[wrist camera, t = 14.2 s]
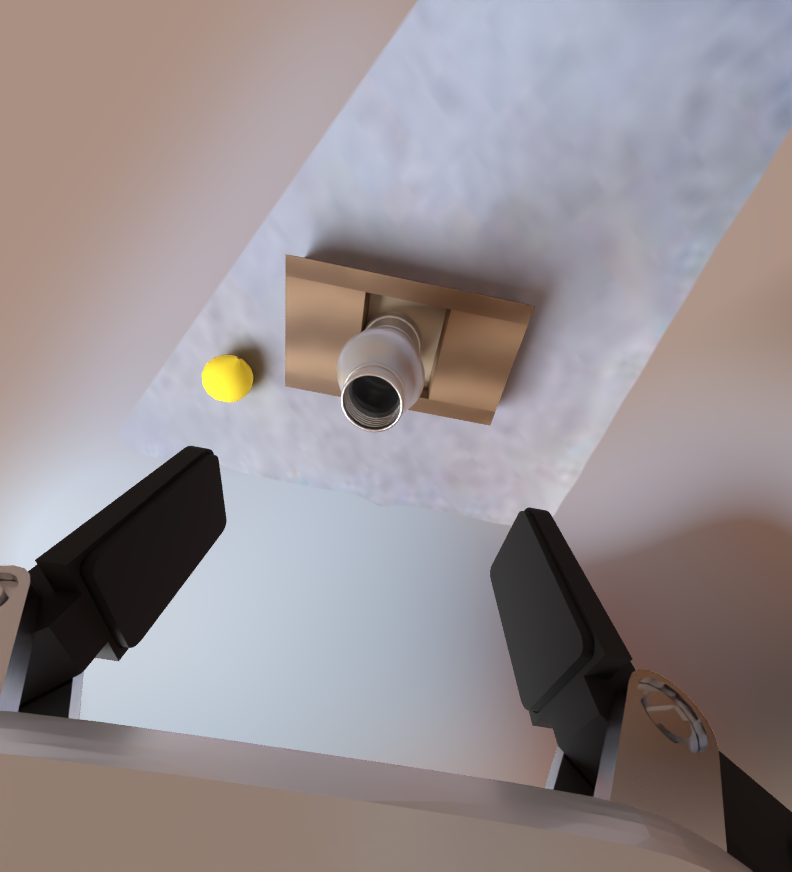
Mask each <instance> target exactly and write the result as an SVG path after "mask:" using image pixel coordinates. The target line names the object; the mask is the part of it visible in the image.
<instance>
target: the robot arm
mask: <svg viewBox="0 0 792 872" xmlns="http://www.w3.org/2000/svg"><path fill="white" fill-rule="evenodd" d="M225 526H226V513H225V505H224V498H223V490H222V482H221V475H220V468H219V460H218V457H217V456H216V455H214V454H213V452H212V450H210V449H206V448H200V447H195V446H188V447H186V448H184V449H183V450H181V451H180V452H179V453H177V454H176V455H175V456H173V457H172V458H171V459H169V460H168V461H167V462H166V463H164V464H163V465H161V466H160V467H159V468H158V469H156V470H155V471H153V472H152V473H151V474H149V475H148V476H147V477H145V478H144V479H143V480H141V481H140V482H139V483H137V484H136V485H135V486H133V487H132V488H131V489H129V490H128V491H127V492H125V493H124V494H123V495H122V496H120V497H119V498H117V499H116V500H115V501H113V502H112V503H111V504H109V505H108V506H107V507H105V508H104V509H103V510H101V511H100V512H99V513H98V514H96V515H95V516H94V517H92V518H91V519H89V520H88V521H87V522H85V523H84V524H83V525H81V526H80V527H79V528H77V529H76V530H75V531H73V532H72V533H71V534H69V535H68V536H67V537H66V538H64V539H63V540H62V541H60V542H59V543H57V544H56V545H55V546H53V547H52V548H51V549H49V550H48V551H47V552H45V553H44V554H43V555H41V556H40V557H39V558H37V559H36V560H35V561H36V562H37V565H36V566H35V567H33V568H32V569H31V570H29V571H28V572H27V571H26V570H25V569H24V568H21V567H17V566H0V872H792V812H791V811H790V810H788V809H787V808H786V807H785V806H784V805H782V804H781V803H780V802H779V801H778V800H777V799H775V798H774V797H773V796H772V795H771V794H769V793H768V792H767V791H766V790H765V789H764V788H762V787H761V786H760V785H759V784H758V783H756V782H755V781H754V780H753V779H752V778H751V777H749V776H748V775H747V774H746V773H745V772H743V771H742V770H741V769H740V768H739V767H738V766H736V765H735V764H734V763H733V762H732V761H730V760H729V759H728V758H727V757H726V756H725V755H723V754H722V753H721V752H720V751H719V749H718V745H717V741H716V737H715V735H714V733H713V731H712V729H711V727H710V725H709V723H708V721H707V719H706V718H705V717H704V715H703V714H702V713H701V711H700V710H699V708H698V707H697V706H696V705H695V703H693V701H692V700H691V699H690V698H689V697H688V696H687V695H686V694H685V693H684V692H683V691H682V690H681V689H679V688H678V687H677V686H676V685H675V684H674V683H673V682H671V681H670V680H668V679H666V678H665V677H663V676H662V675H660V674H658V673H655V672H653V671H650V670H643V669H638V670H635V669H634V667H633V665H632V663H631V662H630V661H631V660H632V657H631V655H630V654H629V652H628V650H627V648H626V646H625V645H624V643H623V641H622V639H621V638H620V636H619V634H618V632H617V631H616V629H615V627H614V625H613V624H612V622H611V620H610V618H609V616H608V615H607V613H606V611H605V609H604V608H603V606H602V604H601V602H600V601H599V599H598V597H597V595H596V593H595V592H594V590H593V588H592V586H591V585H590V583H589V581H588V579H587V578H586V576H585V574H584V572H583V571H582V569H581V567H580V566H579V564H578V562H577V560H576V558H575V556H574V555H573V553H572V551H571V549H570V548H569V546H568V544H567V542H566V540H565V539H564V537H563V535H562V533H561V532H560V530H559V528H558V526H557V525H556V523H555V521H554V519H553V518H552V516H551V514H550V513H549V512H548V511H546V510H540V509H535V508H527V509H525V511H521V512H519V514H518V516H517V518H516V520H515V522H514V523H513V525H512V528H511V529H510V531H509V533H508V535H507V537H506V539H505V541H504V543H503V545H502V547H501V549H500V551H499V553H498V555H497V556H496V558H495V560H494V562H493V564H492V566H491V570H490V577H491V582H492V586H493V590H494V593H495V598H496V602H497V606H498V610H499V614H500V617H501V622H502V626H503V630H504V634H505V638H506V642H507V646H508V650H509V654H510V658H511V662H512V666H513V670H514V674H515V678H516V682H517V686H518V690H519V694H520V698H521V701H522V704H523V706H524V708H525V709H527V710H529V713H530V717H531V721H532V724H533V725H534V726H540V727H546V728H553V730H554V734H555V737H556V740H557V743H558V746H557V749H556V752H555V756H554V759H553V762H552V766H551V769H550V772H549V775H548V778H547V782H546V785H545V788H540V787H534V786H528V785H523V784H517V783H511V782H504V781H497V780H491V779H485V778H478V777H472V776H466V775H459V774H452V773H446V772H439V771H433V770H426V769H420V768H413V767H407V766H400V765H394V764H387V763H380V762H373V761H367V760H359V759H353V758H346V757H340V756H333V755H326V754H319V753H312V752H306V751H299V750H291V749H285V748H279V747H271V746H265V745H258V744H251V743H244V742H238V741H230V740H224V739H217V738H209V737H202V736H195V735H188V734H181V733H174V732H167V731H160V730H153V729H145V728H138V727H132V726H125V725H118V724H111V723H104V722H96V721H88V720H79V716H80V706H81V695H82V694H81V693H82V684H83V674H84V673H83V672H84V670H85V669H86V668H87V666H88V665H89V664H90V663H91V662H92V660H93V659H94V658H101V659H107V660H114V661H119V660H120V659H121V657H122V656H123V655H124V654H125V652H126V651H127V650H128V648H132V647H134V646H136V645H137V644H138V643H139V642H140V641H141V640H142V639H143V637H144V636H145V635H146V633H147V632H148V630H149V629H150V628H151V627H152V625H153V624H154V623H155V621H156V620H157V619H158V617H159V616H160V615H161V613H162V612H163V611H164V609H165V608H166V607H167V605H168V604H169V603H170V601H171V600H172V599H173V597H174V596H175V595H176V593H177V592H178V591H179V589H180V588H181V587H182V585H183V584H184V583H185V581H186V580H187V579H188V577H189V576H190V575H191V573H192V572H193V571H194V569H195V568H196V567H197V565H198V564H199V563H200V561H201V560H202V559H203V557H204V556H205V555H206V553H207V552H208V551H209V549H210V548H211V547H212V545H213V544H214V543H215V541H216V540H217V539H218V537H219V536H220V535H221V533H222V532H223V530H224V528H225Z"/></svg>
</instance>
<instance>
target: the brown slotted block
mask: <svg viewBox="0 0 792 872" xmlns="http://www.w3.org/2000/svg"><path fill="white" fill-rule="evenodd" d="M534 307H535V306H531V305H527V304H523V303H519V302H514V301H510V300H505V299H500V298H495V297H490V296H486V295H481V294H476V293H471V292H466V291H462V290H457V289H452V288H447V287H442V286H438V285H433V284H428V283H423V282H418V281H414V280H409V279H404V278H399V277H394V276H390V275H385V274H380V273H375V272H370V271H366V270H361V269H356V268H351V267H346V266H342V265H337V264H332V263H327V262H322V261H318V260H313V259H308V258H303V257H297V256H292V255H286V352H285V386H287V387H292V388H297V389H302V390H308V391H313V392H318V393H323V394H329V395H334V396H339V397H341V390H340V387H339V384H338V379H337V370H336V369H337V360H338V357H339V354H340V351H341V350H342V348H343V346H344V345H345V344H346V342H347V341H348V340H349V339H350V338H352V337H353V336H354V335H356V334H357V333H360V332H362V331H364V330H365V327H366V326H367V324H368V322H369V321H370V320H371V319H372V318H373V317H374V316H376V315H377V314H379V313H382V312H385V311H397V312H401V313H403V314H405V315H407V316H409V317H410V318H411V319H412V320H413V321H414V322H415V323H416V324H417V326H418V327H419V329H420V332H421V334H422V339H423V349H422V354H421V359H422V362H423V365H424V371H425V383H424V387H423V390H422V393H421V395H420V397H419V398H418V400H417V401H416V402H415V404H414V405H412V406H411V407H410V408H409V409H408V410H412V411H417V412H423V413H428V414H433V415H438V416H444V417H449V418H454V419H459V420H464V421H470V422H475V423H480V424H485V425H490V424H491V422H492V419H493V416H494V414H495V411H496V408H497V406H498V403H499V400H500V398H501V395H502V392H503V390H504V387H505V384H506V382H507V379H508V376H509V374H510V371H511V369H512V366H513V363H514V361H515V358H516V355H517V353H518V350H519V347H520V345H521V342H522V339H523V337H524V334H525V331H526V329H527V326H528V323H529V321H530V318H531V315H532V313H533V310H534Z"/></svg>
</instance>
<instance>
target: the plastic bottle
mask: <svg viewBox="0 0 792 872" xmlns="http://www.w3.org/2000/svg"><path fill="white" fill-rule="evenodd" d="M422 349H423V339H422V334H421V332H420V329H419V327H418V326H417V324H416V323H415V322H414V321H413V320H412V319H411V318H410V317H409V316H407V315H405V314H403V313H401V312H397V311H385V312H382V313H379V314H377V315H376V316H374V317H373V318H372V319H371V320H370V321H369V322H368V324H367V326H366V327H365V330H364V331H362V332H360V333H357V334H356V335H354V336H353V337H352V338H350V339H349V340H348V341H347V342H346V344H345V345H344V346H343V348H342V350H341V351H340V354H339V357H338V360H337V369H336V370H337V379H338V384H339V387H340V390H341V406H342V409H343V412H344V414H345V416H346V417H347V418H348V420H349V421H350V422H351V423H352V424H354V425H355V426H356V427H358V428H360V429H362V430H365V431H369V432H381V431H385V430H388V429H389V428H391V427H393V426H394V425H395V424H396V423H397V422H398V420H399V419H400V417H401V415H402V413H404V412H405V411H407V410H408V409H409V408H410V407H411V406H412V405H414V404H415V402H416V401H417V400H418V398H419V397H420V395H421V393H422V390H423V387H424V383H425V371H424V365H423V362H422V359H421V354H422Z"/></svg>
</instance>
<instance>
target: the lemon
mask: <svg viewBox="0 0 792 872" xmlns="http://www.w3.org/2000/svg"><path fill="white" fill-rule="evenodd" d="M253 378H254V377H253V373H252V370H251V368H250V367H249V365H248V364H247V363H246V362H245V361H244V360H242V359H241V358H240V357H238V356H234V355H222V356H218V357H215V358H213V359H212V360H211V361H209V362H208V363H207V364H206V365H205V368H204V370H203V373H202V381H203V386H204V388H205V390H206V391H207V393H208V394H209V395H210V396H212V397H213V398H215V399H216V400H220V401H224V402H235V401H238V400H240V399H242V398H243V397H245V396H246V395H247V393H248V392H249V391H250V389H251V388H252V384H253Z"/></svg>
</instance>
